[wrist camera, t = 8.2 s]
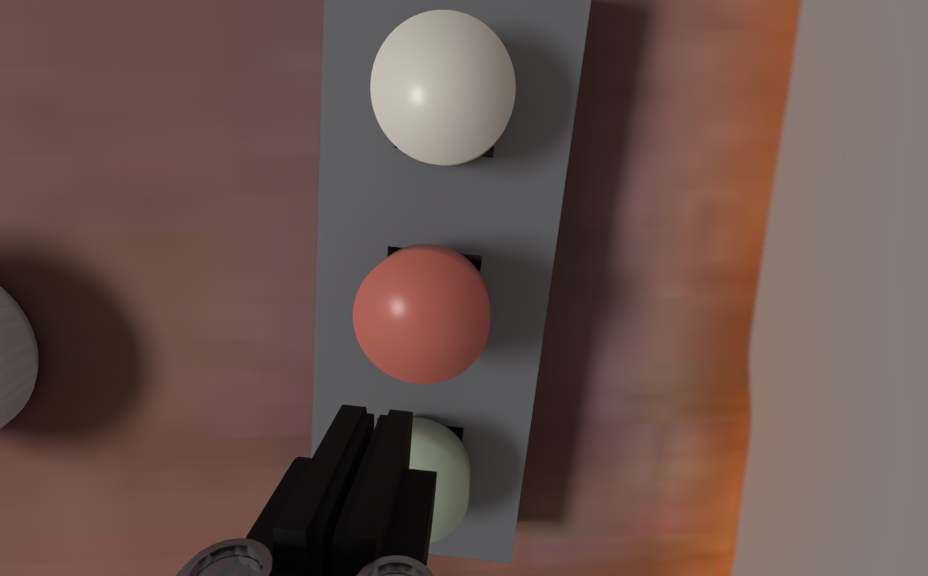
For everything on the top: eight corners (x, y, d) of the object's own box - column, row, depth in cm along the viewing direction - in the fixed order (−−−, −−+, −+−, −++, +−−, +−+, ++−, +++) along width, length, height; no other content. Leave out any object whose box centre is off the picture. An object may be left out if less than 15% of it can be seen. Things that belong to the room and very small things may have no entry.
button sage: (466, 482, 26) (462, 551, 21) (372, 471, 26) (347, 538, 21) (476, 395, 25) (474, 448, 20) (378, 384, 25) (352, 434, 20)
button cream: (501, 172, 22) (506, 171, 17) (392, 160, 22) (366, 157, 17) (515, 52, 21) (524, 16, 16) (399, 41, 21) (374, 2, 16)
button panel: (508, 521, 27) (510, 563, 24) (327, 500, 27) (308, 540, 24) (580, -3, 21) (595, -31, 18) (347, -24, 21) (325, -56, 18)
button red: (482, 345, 23) (482, 391, 18) (377, 334, 23) (349, 376, 18) (494, 240, 22) (497, 259, 17) (384, 229, 22) (355, 244, 17)
